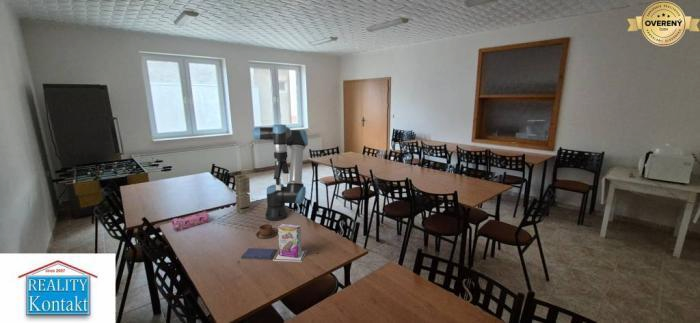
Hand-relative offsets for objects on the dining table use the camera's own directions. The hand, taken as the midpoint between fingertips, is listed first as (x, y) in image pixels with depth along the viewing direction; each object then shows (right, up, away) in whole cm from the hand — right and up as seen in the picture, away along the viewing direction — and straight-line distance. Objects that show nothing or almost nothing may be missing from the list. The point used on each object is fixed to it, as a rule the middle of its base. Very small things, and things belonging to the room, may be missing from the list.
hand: (282, 187), depth 172 cm
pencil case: (-65, -29, +22) cm, 75 cm away
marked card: (+8, -35, -17) cm, 40 cm away
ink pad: (-9, -35, -15) cm, 39 cm away
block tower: (-40, -24, +47) cm, 66 cm away
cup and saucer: (-12, -31, +8) cm, 34 cm away
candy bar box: (+8, -35, -17) cm, 40 cm away
